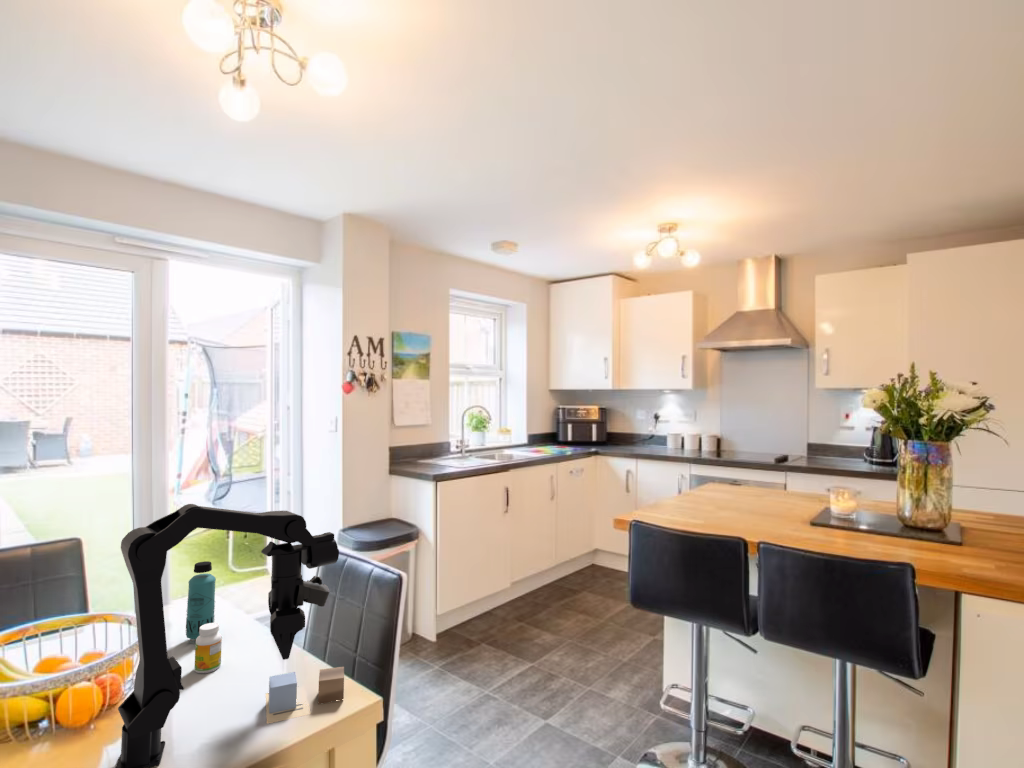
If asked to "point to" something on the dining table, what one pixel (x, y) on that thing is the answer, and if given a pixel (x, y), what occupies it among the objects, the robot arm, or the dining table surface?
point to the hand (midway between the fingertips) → (284, 649)
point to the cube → (282, 692)
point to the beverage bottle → (200, 600)
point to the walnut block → (331, 685)
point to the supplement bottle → (208, 648)
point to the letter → (286, 712)
